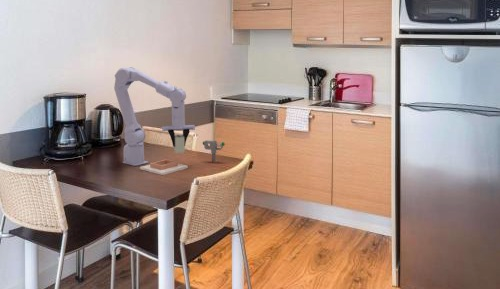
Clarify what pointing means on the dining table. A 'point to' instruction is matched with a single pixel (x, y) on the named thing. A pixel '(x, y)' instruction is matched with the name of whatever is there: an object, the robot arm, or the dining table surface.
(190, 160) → the dining table surface
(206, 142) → the mechanical component
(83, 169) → the dining table surface
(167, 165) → the duct plate
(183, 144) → the striped green box
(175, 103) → the robot arm
